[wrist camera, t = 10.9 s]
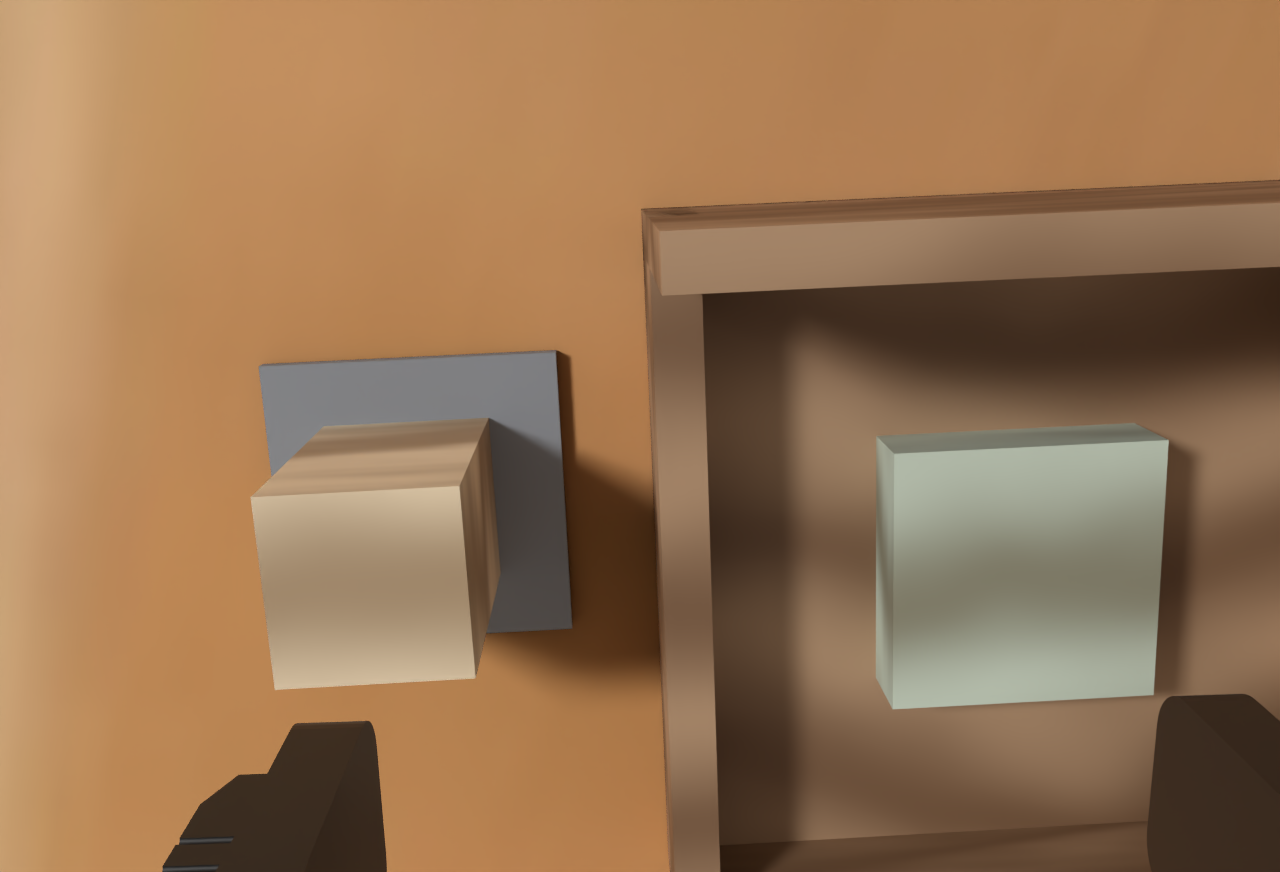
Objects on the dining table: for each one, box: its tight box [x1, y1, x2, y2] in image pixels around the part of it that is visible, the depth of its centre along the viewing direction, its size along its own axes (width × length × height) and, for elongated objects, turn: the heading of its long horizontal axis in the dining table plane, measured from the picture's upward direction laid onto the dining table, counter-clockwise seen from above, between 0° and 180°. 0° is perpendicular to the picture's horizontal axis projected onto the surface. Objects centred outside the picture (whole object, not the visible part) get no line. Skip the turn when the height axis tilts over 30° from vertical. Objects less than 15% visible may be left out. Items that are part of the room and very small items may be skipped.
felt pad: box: [259, 350, 572, 633], centre depth 33 cm, size 8×8×1 cm
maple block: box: [251, 418, 501, 690], centre depth 30 cm, size 4×4×7 cm
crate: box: [641, 180, 1280, 872], centre depth 29 cm, size 19×19×10 cm
